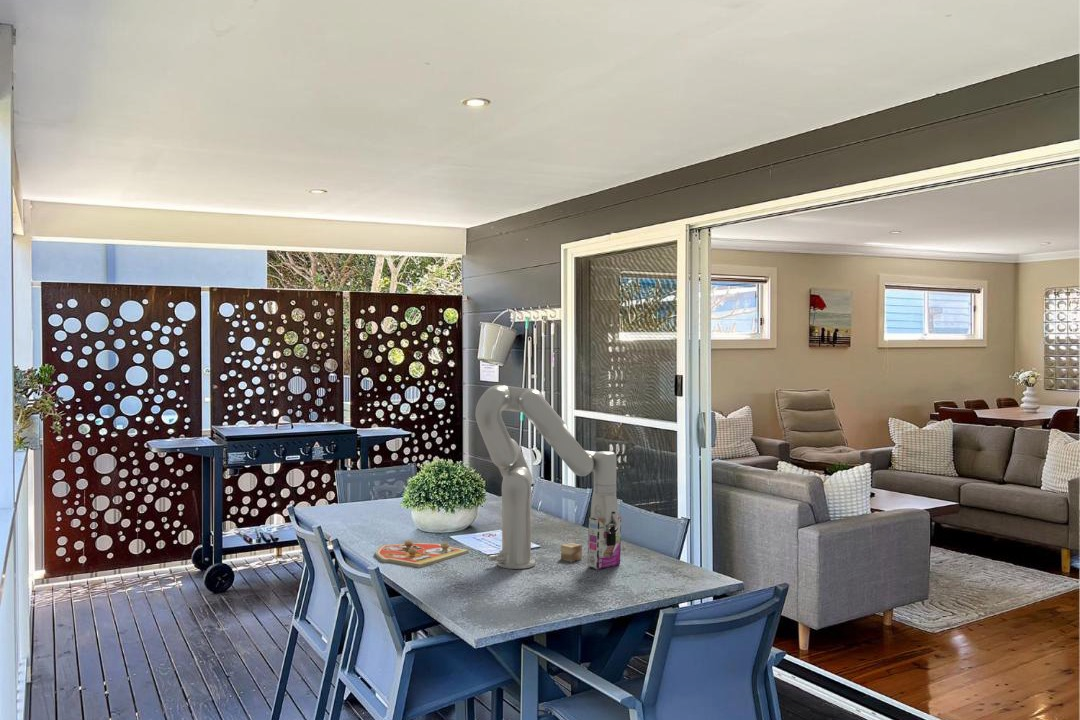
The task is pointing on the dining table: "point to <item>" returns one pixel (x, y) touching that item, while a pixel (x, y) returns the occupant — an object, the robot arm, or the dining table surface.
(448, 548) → the knob puzzle
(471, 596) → the dining table surface
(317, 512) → the dining table surface
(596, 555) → the candy bar box
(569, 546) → the oak block
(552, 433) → the robot arm
